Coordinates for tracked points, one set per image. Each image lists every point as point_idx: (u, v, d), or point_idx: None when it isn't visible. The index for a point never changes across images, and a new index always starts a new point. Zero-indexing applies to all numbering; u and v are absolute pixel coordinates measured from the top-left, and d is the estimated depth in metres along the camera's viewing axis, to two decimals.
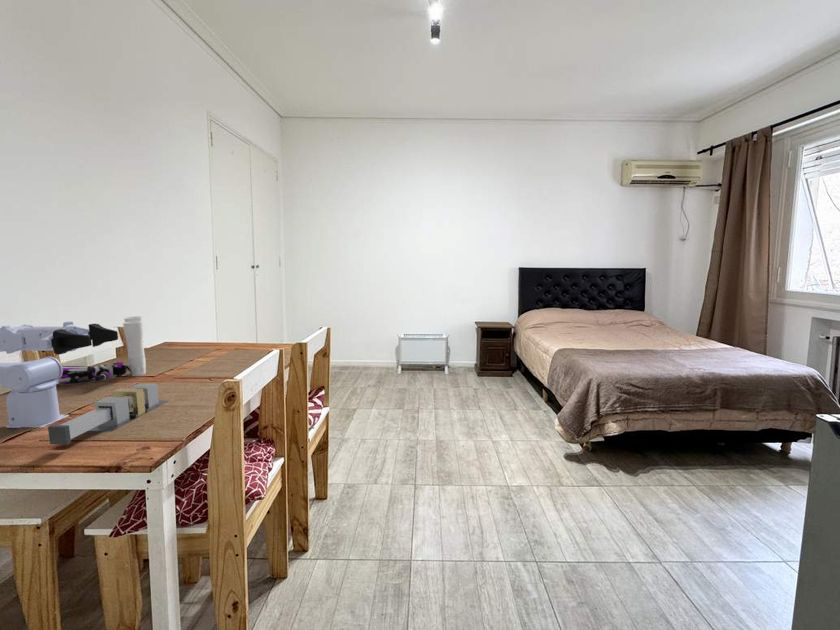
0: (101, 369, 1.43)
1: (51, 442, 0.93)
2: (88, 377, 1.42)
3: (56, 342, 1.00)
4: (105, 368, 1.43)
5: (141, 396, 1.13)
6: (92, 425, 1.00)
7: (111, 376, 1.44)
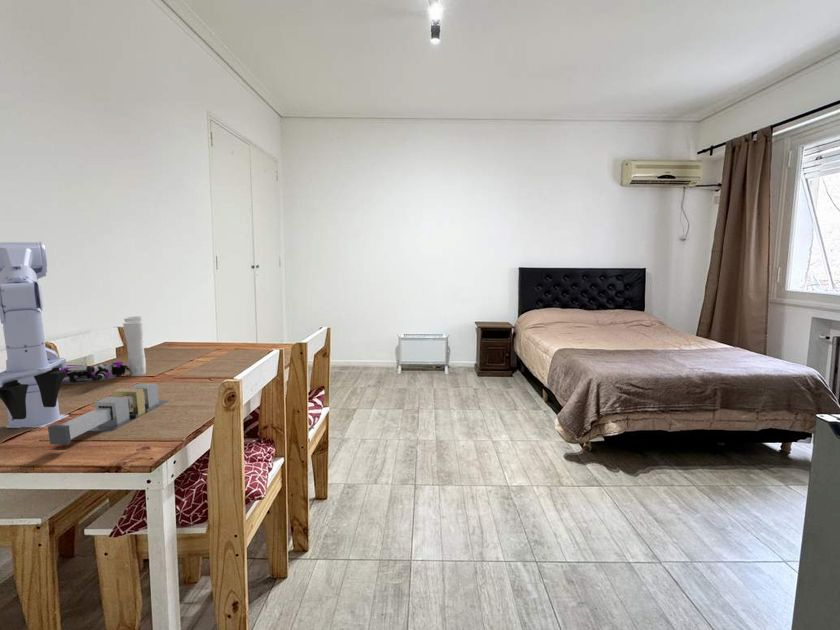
0: (100, 369, 1.43)
1: (51, 442, 0.93)
2: (87, 376, 1.43)
3: None
4: (104, 368, 1.43)
5: (141, 396, 1.13)
6: (92, 425, 1.00)
7: (110, 376, 1.44)
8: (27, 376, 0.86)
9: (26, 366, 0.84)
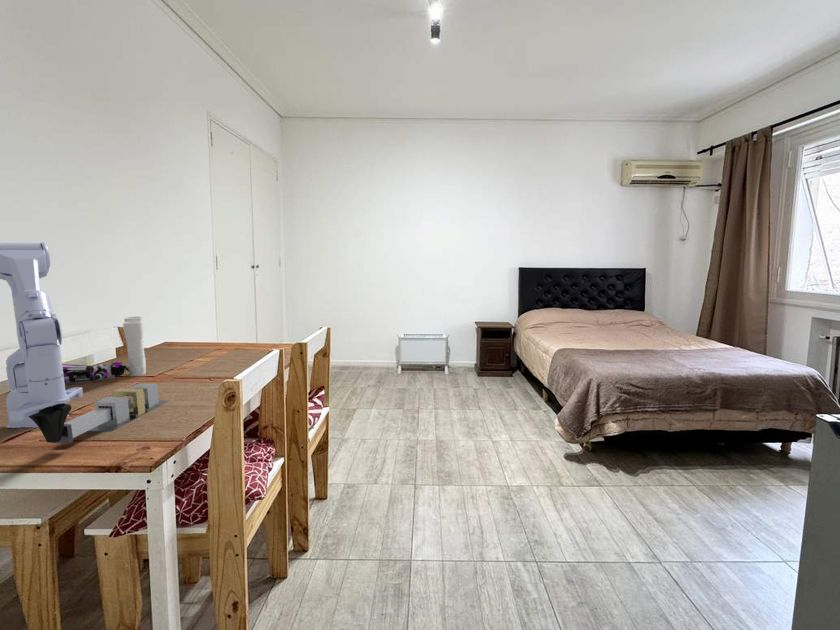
0: (99, 369, 1.43)
1: None
2: (87, 376, 1.43)
3: None
4: (103, 368, 1.43)
5: (141, 396, 1.13)
6: (94, 424, 1.01)
7: (109, 376, 1.44)
8: (47, 407, 0.90)
9: (46, 398, 0.89)
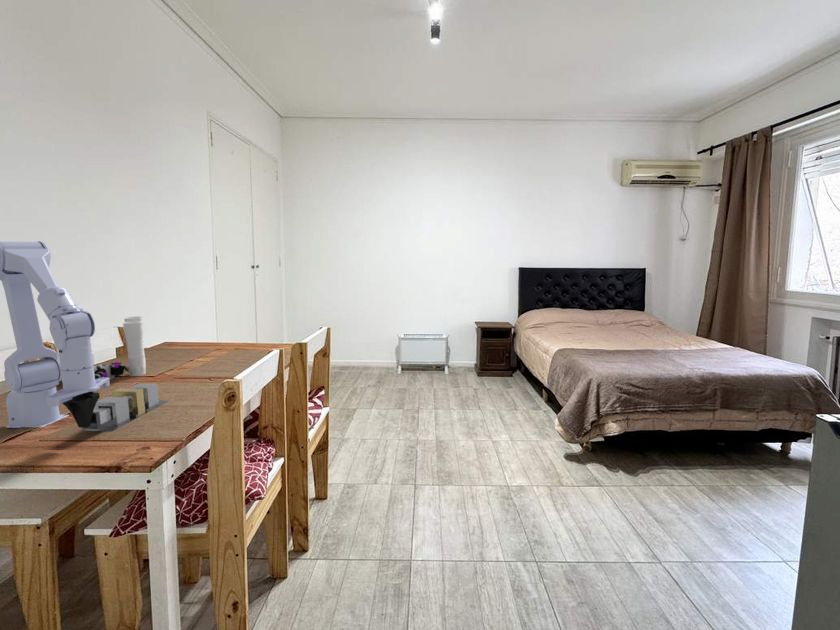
0: (98, 369, 1.43)
1: None
2: None
3: None
4: (102, 368, 1.43)
5: (141, 396, 1.13)
6: None
7: (108, 376, 1.44)
8: (78, 395, 0.98)
9: (78, 386, 0.96)
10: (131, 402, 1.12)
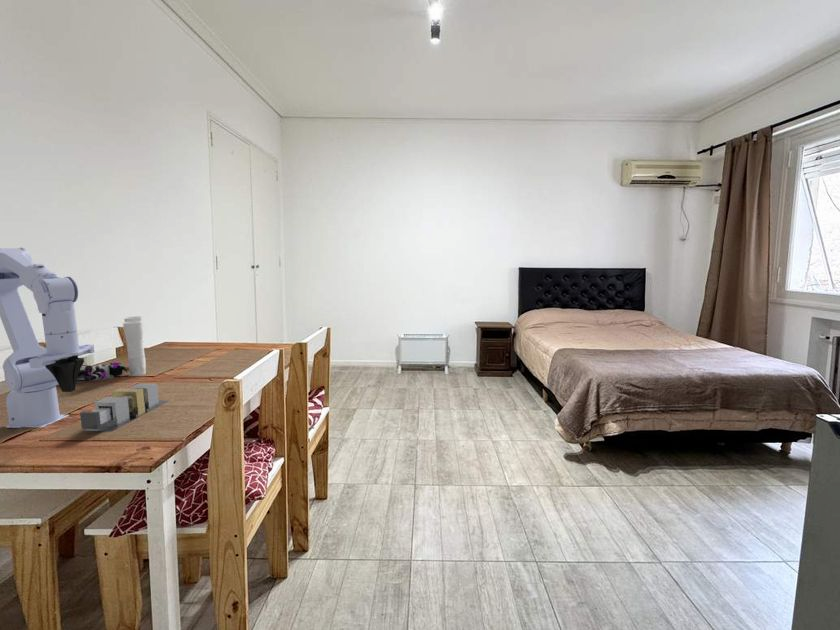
0: (97, 369, 1.43)
1: (83, 427, 1.01)
2: None
3: (56, 365, 0.98)
4: (101, 368, 1.43)
5: (141, 396, 1.13)
6: None
7: (107, 376, 1.43)
8: (62, 359, 0.99)
9: (62, 350, 0.98)
10: (131, 402, 1.12)
